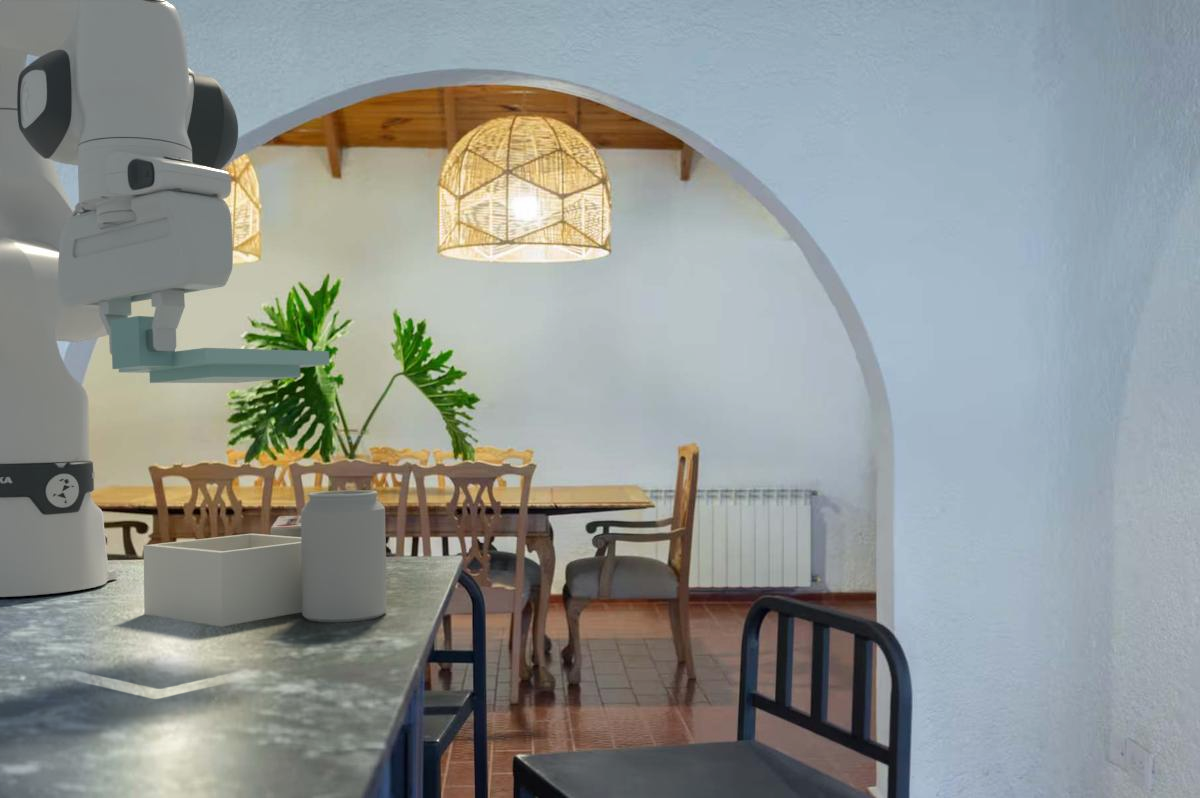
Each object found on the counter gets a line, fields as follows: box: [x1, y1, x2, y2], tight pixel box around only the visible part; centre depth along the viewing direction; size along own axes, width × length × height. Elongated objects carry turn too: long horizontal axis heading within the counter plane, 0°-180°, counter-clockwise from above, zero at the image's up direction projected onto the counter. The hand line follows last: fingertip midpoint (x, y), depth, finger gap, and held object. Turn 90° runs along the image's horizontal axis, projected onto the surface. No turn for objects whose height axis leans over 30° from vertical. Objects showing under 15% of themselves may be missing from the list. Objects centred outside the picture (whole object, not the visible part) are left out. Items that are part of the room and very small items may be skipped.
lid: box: [111, 315, 330, 384], centre depth 101 cm, size 13×16×5 cm
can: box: [300, 489, 388, 624], centre depth 106 cm, size 8×8×12 cm
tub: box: [143, 533, 302, 628], centre depth 110 cm, size 12×12×7 cm
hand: (142, 353), depth 96 cm, fingers closed on lid, 4 cm apart
